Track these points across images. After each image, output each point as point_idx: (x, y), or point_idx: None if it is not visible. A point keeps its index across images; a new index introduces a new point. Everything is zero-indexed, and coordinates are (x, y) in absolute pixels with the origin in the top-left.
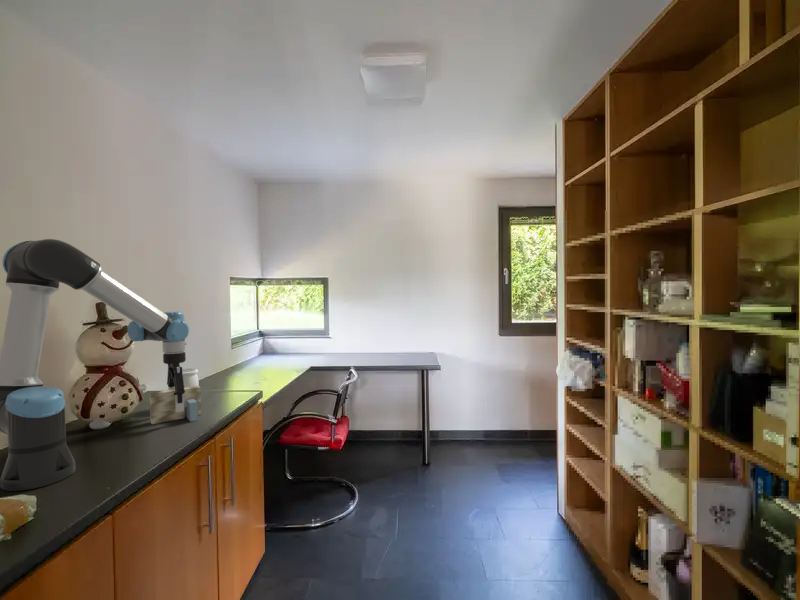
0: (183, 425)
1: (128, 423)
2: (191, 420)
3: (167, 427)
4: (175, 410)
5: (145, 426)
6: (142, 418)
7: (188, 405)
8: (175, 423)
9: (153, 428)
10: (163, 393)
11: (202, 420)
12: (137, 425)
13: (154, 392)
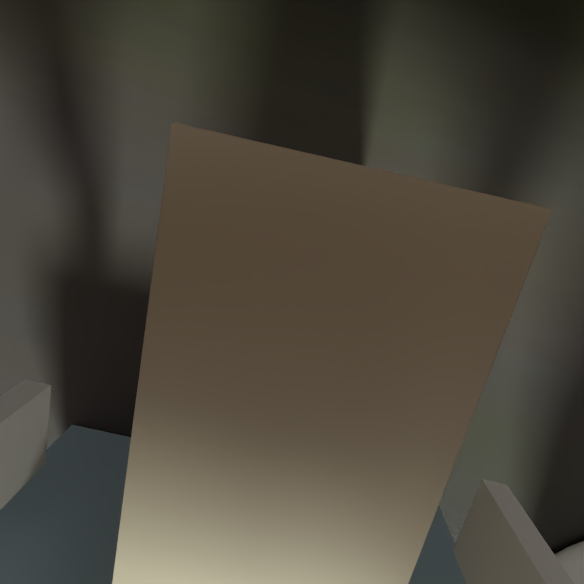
0: (9, 347)
1: (534, 10)
2: (66, 437)
3: (50, 235)
4: (36, 394)
5: (251, 103)
6: (581, 193)
7: (45, 557)
8: (122, 330)
9: (116, 133)
10: (125, 520)
11: None
12: (361, 55)
13: (426, 376)
